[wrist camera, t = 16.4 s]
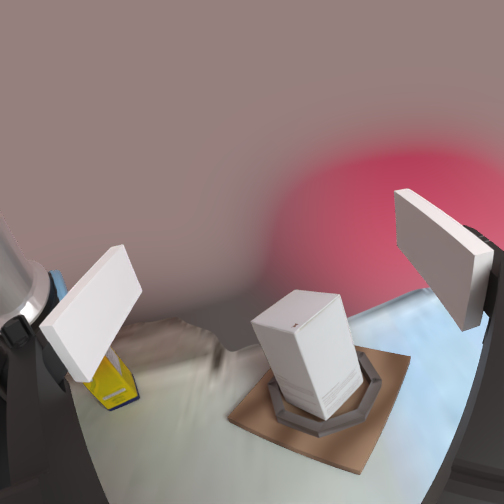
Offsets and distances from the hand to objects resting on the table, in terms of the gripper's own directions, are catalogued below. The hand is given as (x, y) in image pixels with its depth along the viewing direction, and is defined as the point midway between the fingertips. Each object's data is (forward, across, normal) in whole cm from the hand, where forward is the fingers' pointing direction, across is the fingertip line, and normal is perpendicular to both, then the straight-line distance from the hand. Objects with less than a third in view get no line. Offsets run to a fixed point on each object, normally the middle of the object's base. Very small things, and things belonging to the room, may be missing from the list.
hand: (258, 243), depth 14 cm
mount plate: (+13, +2, -28) cm, 31 cm away
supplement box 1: (+16, -29, -28) cm, 43 cm away
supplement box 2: (+12, +2, -26) cm, 29 cm away
